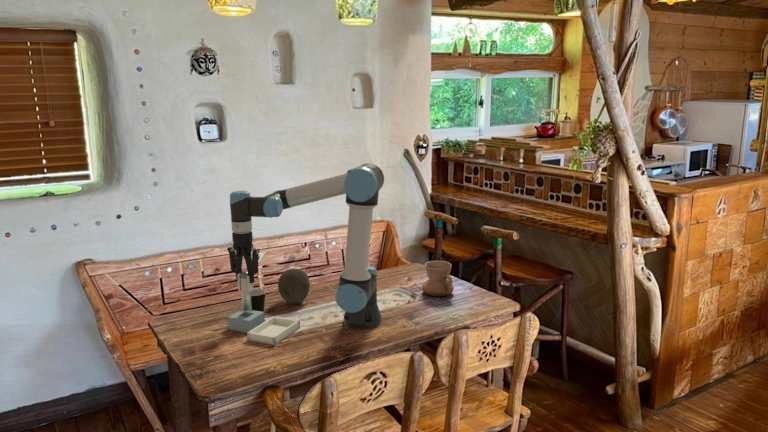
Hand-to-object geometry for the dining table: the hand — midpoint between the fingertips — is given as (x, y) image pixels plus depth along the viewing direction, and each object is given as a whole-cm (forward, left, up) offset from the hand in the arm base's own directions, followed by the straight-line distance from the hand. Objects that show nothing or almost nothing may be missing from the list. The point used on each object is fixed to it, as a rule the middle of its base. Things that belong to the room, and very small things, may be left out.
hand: (245, 290), depth 230 cm
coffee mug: (+4, -13, -15) cm, 20 cm away
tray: (-14, +2, -15) cm, 20 cm away
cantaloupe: (-3, -31, -15) cm, 35 cm away
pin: (0, 0, -8) cm, 8 cm away
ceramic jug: (-58, -66, -15) cm, 89 cm away
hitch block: (0, 0, -15) cm, 15 cm away
